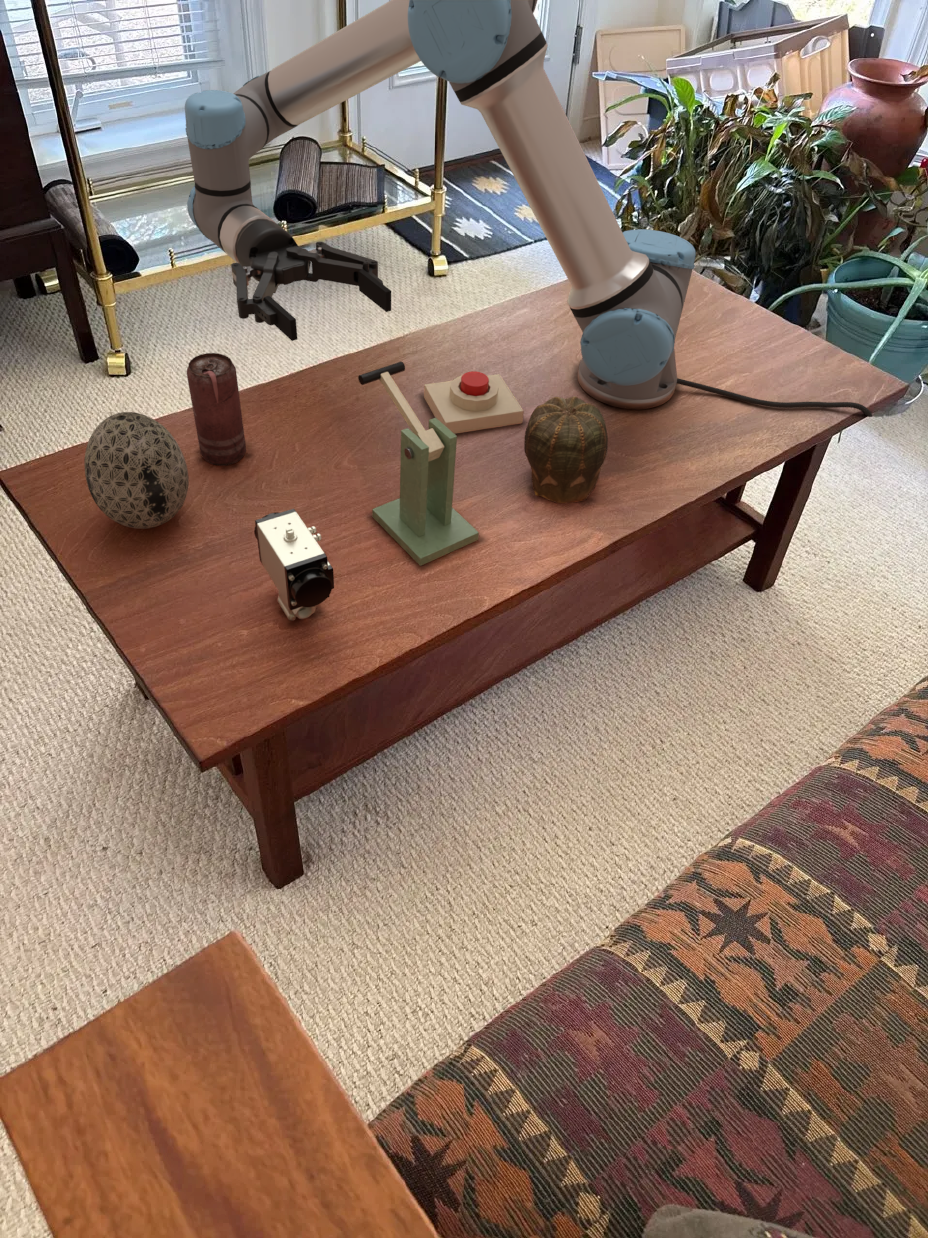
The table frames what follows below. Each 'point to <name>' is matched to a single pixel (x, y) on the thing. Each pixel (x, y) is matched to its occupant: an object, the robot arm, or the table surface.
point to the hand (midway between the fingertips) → (342, 315)
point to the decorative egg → (135, 471)
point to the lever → (404, 406)
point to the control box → (473, 405)
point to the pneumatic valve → (294, 562)
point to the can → (216, 408)
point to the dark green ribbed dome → (565, 449)
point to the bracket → (426, 500)
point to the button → (474, 383)
